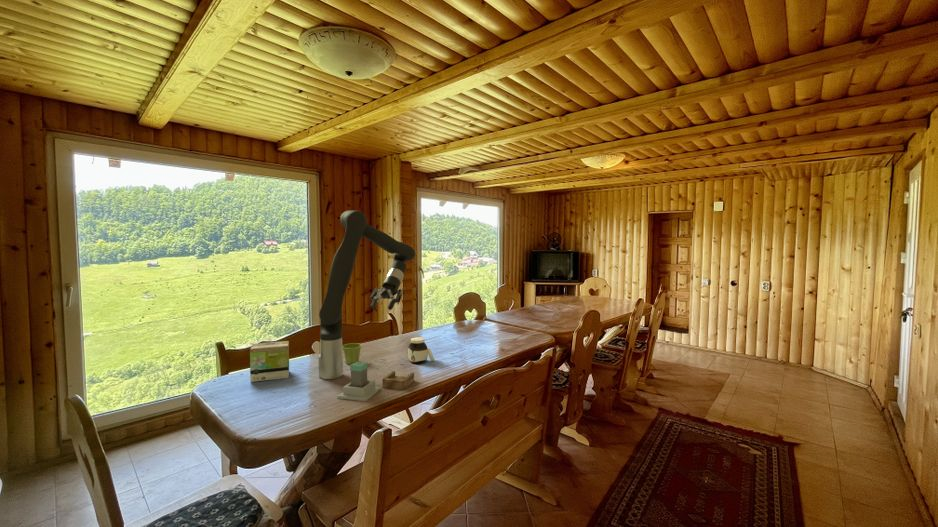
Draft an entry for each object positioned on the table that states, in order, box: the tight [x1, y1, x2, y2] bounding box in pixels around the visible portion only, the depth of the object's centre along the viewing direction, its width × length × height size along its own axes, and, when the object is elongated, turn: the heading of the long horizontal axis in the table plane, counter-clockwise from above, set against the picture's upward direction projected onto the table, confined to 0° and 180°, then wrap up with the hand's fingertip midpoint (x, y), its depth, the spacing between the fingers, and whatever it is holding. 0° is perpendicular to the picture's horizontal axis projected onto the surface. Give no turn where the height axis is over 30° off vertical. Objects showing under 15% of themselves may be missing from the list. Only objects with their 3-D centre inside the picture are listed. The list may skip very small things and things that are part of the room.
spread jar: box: [407, 336, 435, 365], centre depth 190 cm, size 12×11×12 cm
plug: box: [349, 361, 369, 388], centre depth 149 cm, size 5×5×11 cm
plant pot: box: [342, 342, 363, 365], centre depth 188 cm, size 9×9×9 cm
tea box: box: [249, 340, 290, 383], centre depth 168 cm, size 15×10×15 cm
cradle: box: [382, 370, 415, 390], centre depth 160 cm, size 10×10×4 cm
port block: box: [337, 379, 381, 402], centre depth 150 cm, size 12×12×4 cm
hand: (380, 308), depth 167 cm, fingers open, 8 cm apart
